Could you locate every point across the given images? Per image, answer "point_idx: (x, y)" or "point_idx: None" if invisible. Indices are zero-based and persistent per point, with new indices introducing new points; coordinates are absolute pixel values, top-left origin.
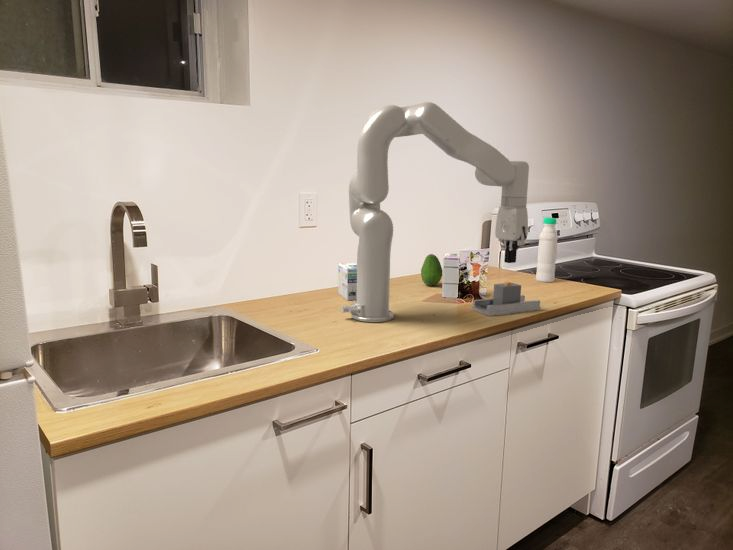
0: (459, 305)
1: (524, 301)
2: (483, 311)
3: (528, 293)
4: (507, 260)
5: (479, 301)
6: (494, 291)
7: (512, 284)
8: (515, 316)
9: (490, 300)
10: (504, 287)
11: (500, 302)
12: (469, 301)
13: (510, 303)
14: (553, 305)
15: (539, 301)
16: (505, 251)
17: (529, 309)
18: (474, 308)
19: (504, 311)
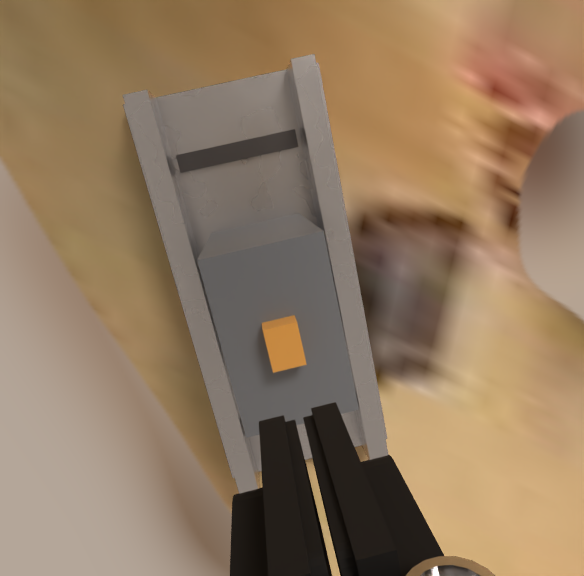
0: (426, 30)
1: (229, 400)
2: (190, 91)
3: (568, 553)
4: (268, 433)
5: (298, 104)
6: (304, 225)
7: (291, 384)
8: (117, 272)
9: (319, 203)
10: (202, 272)
11: (227, 235)
12: (503, 149)
13: (188, 288)
14: None
15: (240, 492)
16: (365, 519)
17: (212, 403)
18: (286, 71)
19: (159, 226)
